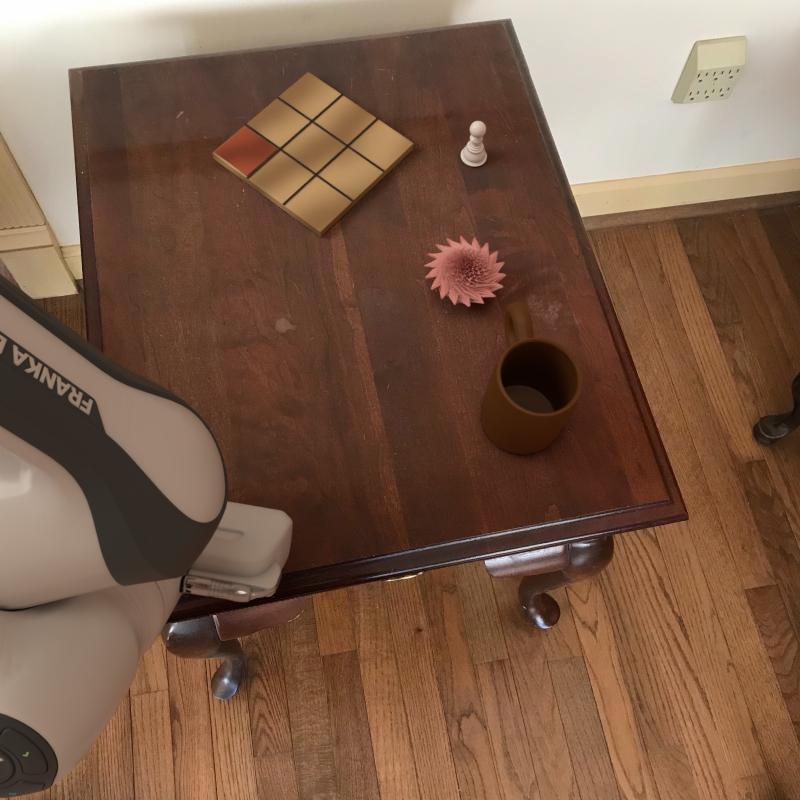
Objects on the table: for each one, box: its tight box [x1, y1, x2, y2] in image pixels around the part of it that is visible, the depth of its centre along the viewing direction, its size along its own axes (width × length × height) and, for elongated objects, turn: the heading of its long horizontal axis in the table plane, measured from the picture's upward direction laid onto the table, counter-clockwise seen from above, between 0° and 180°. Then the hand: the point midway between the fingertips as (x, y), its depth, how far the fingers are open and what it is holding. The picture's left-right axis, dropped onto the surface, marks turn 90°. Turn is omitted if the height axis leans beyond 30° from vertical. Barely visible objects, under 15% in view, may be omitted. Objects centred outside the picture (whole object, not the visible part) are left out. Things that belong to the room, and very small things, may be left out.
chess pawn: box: [460, 120, 488, 168], centre depth 87 cm, size 3×3×5 cm
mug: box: [480, 301, 584, 455], centre depth 74 cm, size 12×8×9 cm, turn 10°
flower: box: [423, 235, 507, 308], centre depth 80 cm, size 8×8×6 cm
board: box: [211, 71, 414, 238], centre depth 88 cm, size 15×15×1 cm
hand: (182, 480), depth 67 cm, fingers closed on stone, 4 cm apart
